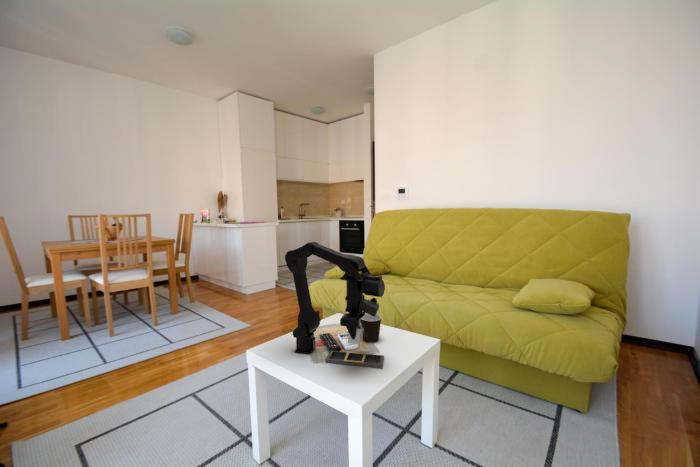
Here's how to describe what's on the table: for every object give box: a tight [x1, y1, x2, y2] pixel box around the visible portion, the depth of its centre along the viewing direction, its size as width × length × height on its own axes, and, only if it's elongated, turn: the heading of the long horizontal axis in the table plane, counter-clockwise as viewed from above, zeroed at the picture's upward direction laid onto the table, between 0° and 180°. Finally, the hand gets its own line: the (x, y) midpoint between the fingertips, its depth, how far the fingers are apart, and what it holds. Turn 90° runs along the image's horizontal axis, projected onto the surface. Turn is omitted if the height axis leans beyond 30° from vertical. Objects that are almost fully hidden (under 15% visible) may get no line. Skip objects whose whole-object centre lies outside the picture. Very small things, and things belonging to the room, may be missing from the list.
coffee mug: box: [361, 313, 382, 344], centre depth 124 cm, size 12×9×10 cm
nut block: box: [347, 324, 363, 345], centre depth 104 cm, size 4×4×6 cm
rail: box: [325, 350, 385, 370], centre depth 105 cm, size 20×6×2 cm, turn 78°
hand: (354, 336), depth 104 cm, fingers closed on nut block, 4 cm apart
